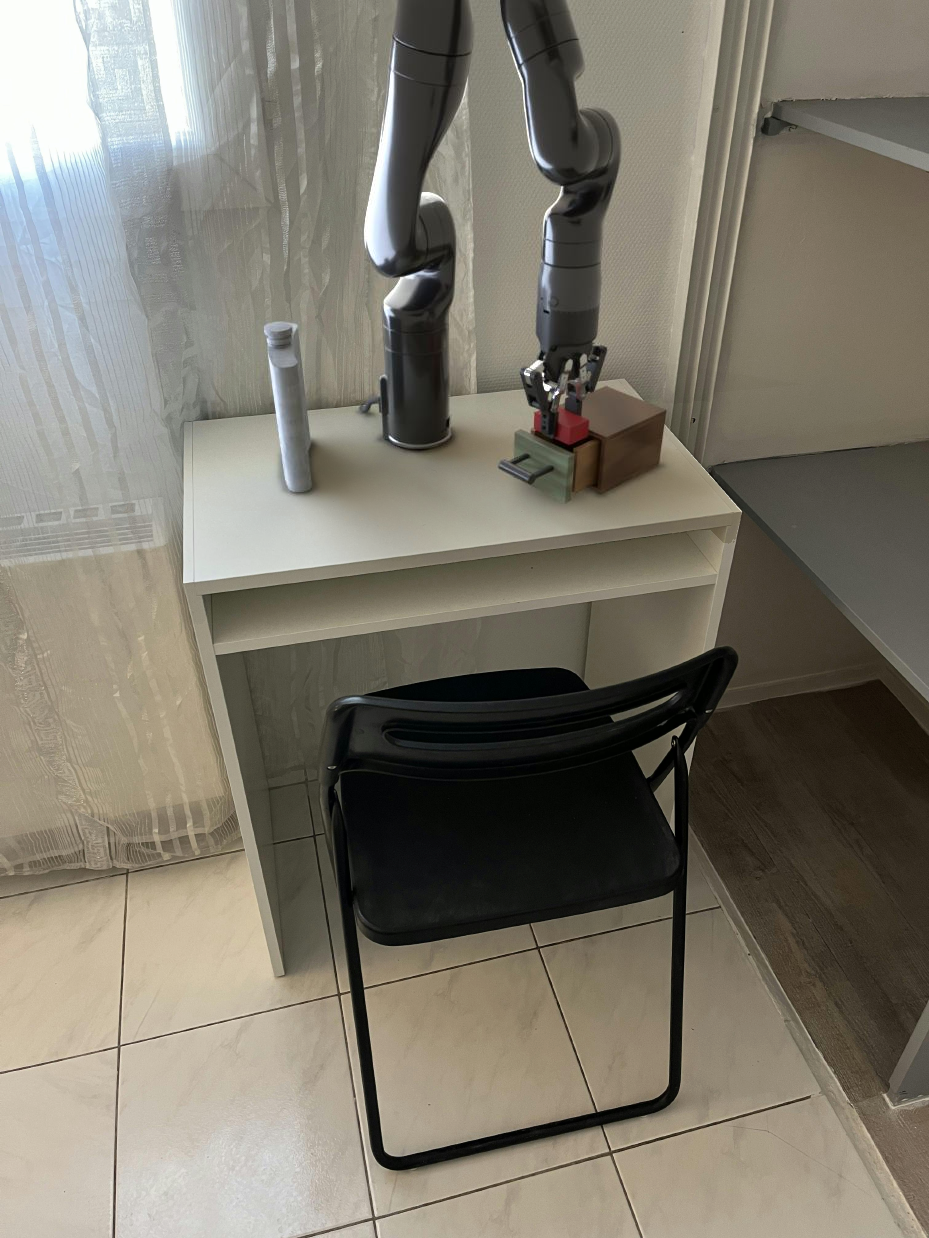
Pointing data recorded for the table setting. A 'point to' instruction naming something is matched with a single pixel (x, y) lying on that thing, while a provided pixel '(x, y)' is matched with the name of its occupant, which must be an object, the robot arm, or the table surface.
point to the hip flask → (290, 403)
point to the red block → (567, 426)
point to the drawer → (554, 463)
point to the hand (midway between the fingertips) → (560, 430)
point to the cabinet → (623, 435)
